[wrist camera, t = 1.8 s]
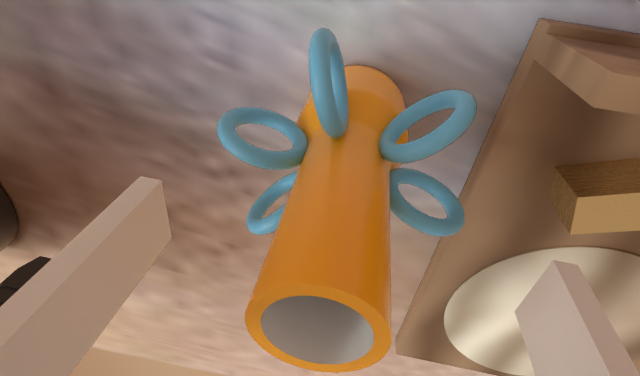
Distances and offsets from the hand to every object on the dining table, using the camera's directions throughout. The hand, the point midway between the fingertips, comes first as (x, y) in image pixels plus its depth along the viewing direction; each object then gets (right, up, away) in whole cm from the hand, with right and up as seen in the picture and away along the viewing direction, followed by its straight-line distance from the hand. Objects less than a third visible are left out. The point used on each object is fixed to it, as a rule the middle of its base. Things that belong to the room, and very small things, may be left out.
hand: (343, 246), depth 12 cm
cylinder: (+1, +7, +10) cm, 12 cm away
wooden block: (+15, +2, +8) cm, 17 cm away
